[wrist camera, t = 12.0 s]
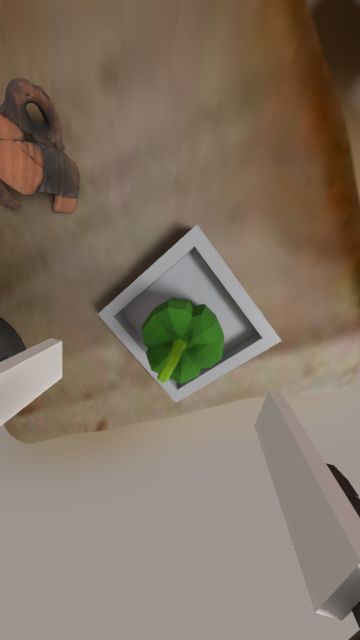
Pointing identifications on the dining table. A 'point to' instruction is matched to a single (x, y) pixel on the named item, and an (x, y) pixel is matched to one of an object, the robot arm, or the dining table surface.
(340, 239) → the dining table surface
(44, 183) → the pottery mug
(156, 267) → the gray square tray
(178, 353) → the bell pepper
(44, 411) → the dining table surface
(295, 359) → the dining table surface
